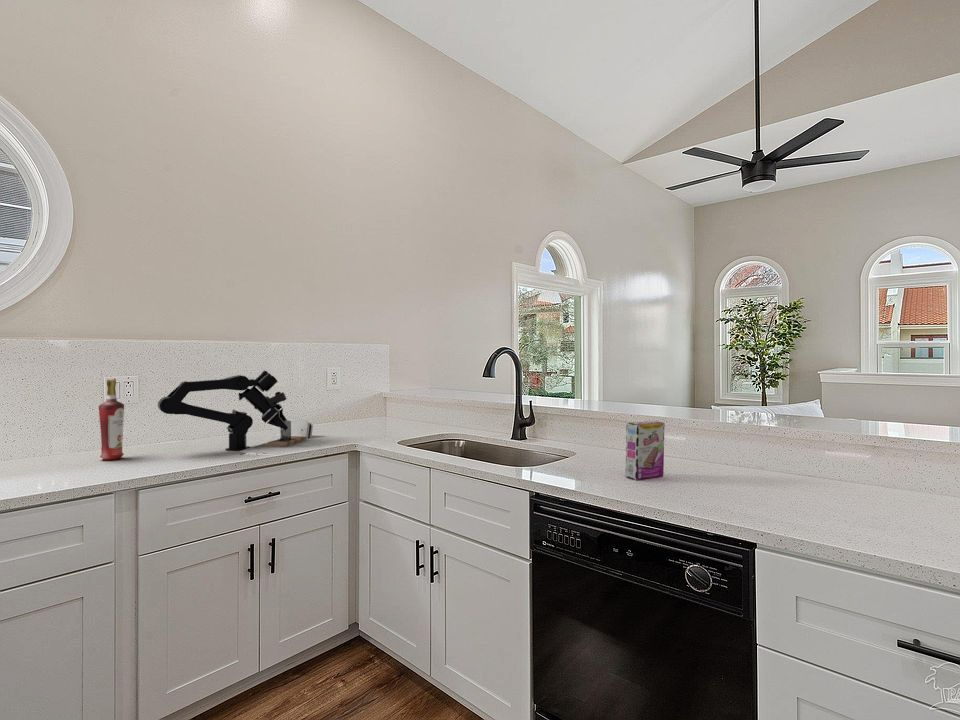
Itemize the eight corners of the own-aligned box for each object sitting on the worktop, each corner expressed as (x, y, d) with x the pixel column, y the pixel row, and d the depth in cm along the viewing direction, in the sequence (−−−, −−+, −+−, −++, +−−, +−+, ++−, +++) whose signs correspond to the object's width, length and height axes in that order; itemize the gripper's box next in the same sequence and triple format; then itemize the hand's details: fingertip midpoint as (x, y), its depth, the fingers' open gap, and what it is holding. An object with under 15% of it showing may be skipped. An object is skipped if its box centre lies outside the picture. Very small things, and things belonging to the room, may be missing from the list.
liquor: (112, 456, 188) (111, 378, 188) (129, 457, 187) (129, 378, 187) (93, 460, 181) (92, 379, 181) (112, 461, 180) (111, 379, 179)
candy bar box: (637, 481, 152) (637, 424, 152) (625, 477, 156) (625, 422, 156) (665, 476, 157) (665, 422, 157) (652, 473, 161) (652, 420, 161)
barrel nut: (287, 447, 207) (287, 421, 207) (278, 446, 208) (278, 421, 208) (293, 445, 211) (292, 420, 211) (283, 445, 212) (283, 420, 212)
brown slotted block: (286, 449, 202) (286, 442, 202) (267, 449, 203) (266, 442, 203) (306, 442, 218) (306, 436, 218) (288, 442, 219) (288, 435, 219)
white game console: (272, 439, 226) (278, 416, 229) (280, 441, 230) (285, 419, 233) (303, 441, 220) (309, 418, 223) (310, 443, 224) (316, 420, 227)
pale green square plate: (318, 448, 204) (318, 445, 204) (298, 447, 205) (298, 445, 205) (327, 444, 212) (327, 442, 212) (308, 444, 213) (308, 442, 213)
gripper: (270, 386, 199) (301, 415, 202) (276, 384, 217) (304, 410, 220) (248, 408, 197) (279, 436, 200) (256, 403, 215) (284, 429, 218)
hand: (288, 427), depth 209 cm, fingers open, 9 cm apart
